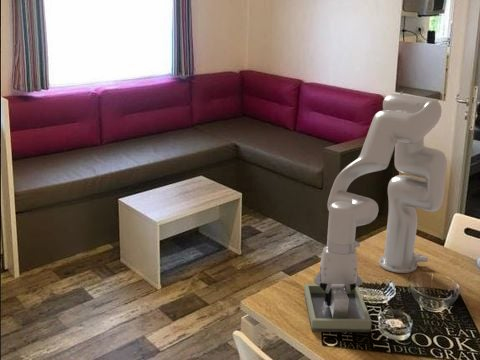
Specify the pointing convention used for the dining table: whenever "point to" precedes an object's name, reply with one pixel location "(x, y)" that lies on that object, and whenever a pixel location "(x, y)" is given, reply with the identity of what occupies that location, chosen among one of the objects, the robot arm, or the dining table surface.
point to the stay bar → (339, 301)
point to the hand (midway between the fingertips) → (336, 303)
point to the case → (323, 318)
